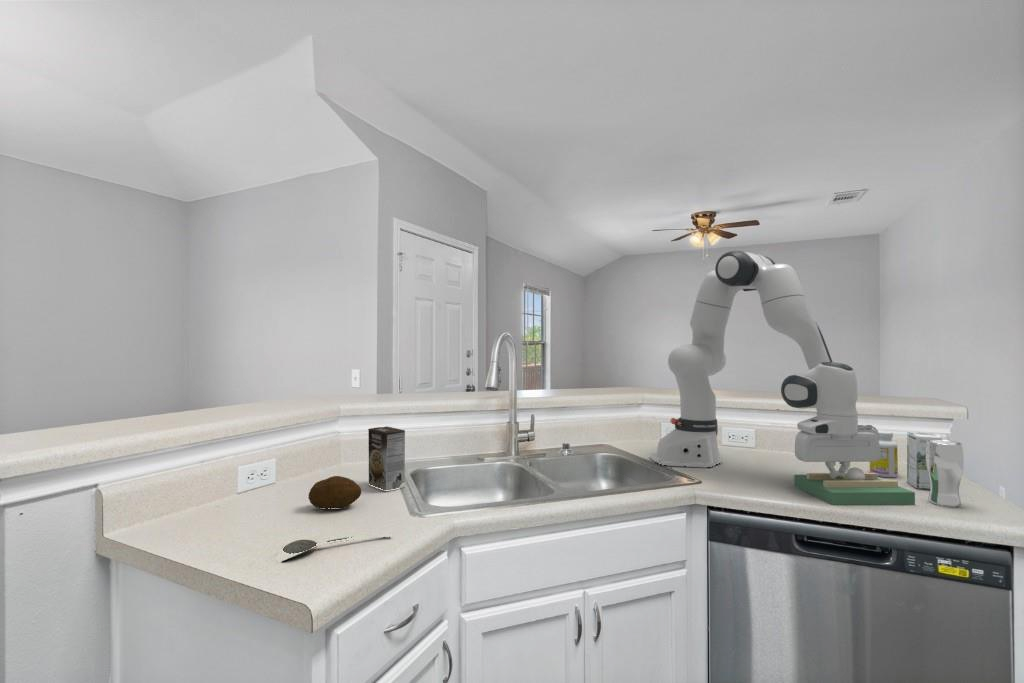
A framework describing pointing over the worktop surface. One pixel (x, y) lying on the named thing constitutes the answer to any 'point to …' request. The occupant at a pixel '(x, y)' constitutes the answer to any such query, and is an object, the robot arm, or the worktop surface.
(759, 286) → the robot arm
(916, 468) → the syrup box
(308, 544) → the soupspoon
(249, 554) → the worktop surface
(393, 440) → the coffee box
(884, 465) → the supplement bottle
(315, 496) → the potato
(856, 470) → the ball
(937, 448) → the beer glass
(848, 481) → the putting mat
